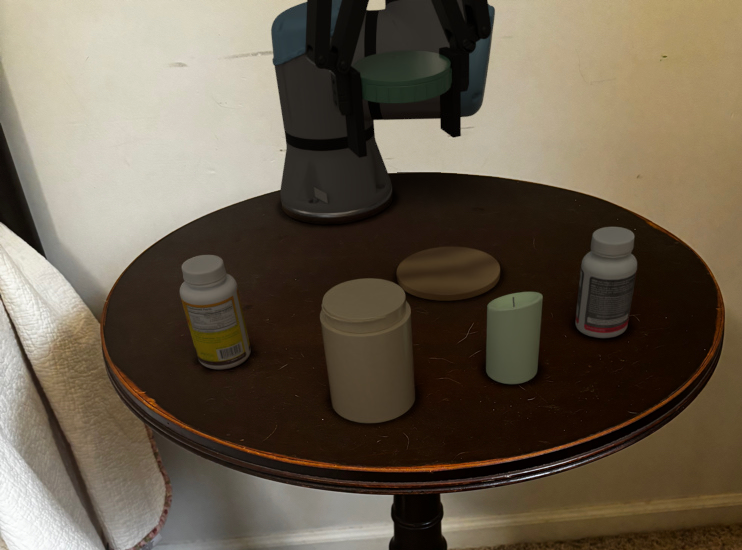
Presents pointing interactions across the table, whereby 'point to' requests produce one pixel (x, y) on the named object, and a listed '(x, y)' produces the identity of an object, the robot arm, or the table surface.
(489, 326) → the candle
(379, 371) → the jar
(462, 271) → the coaster
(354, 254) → the table surface
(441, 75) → the lid
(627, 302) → the pill bottle
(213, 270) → the supplement bottle
